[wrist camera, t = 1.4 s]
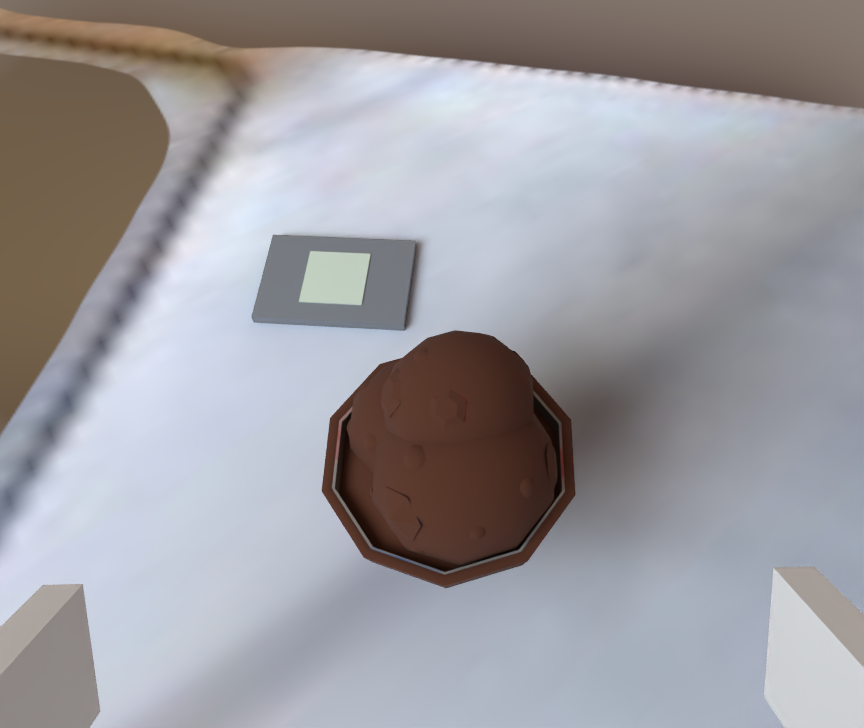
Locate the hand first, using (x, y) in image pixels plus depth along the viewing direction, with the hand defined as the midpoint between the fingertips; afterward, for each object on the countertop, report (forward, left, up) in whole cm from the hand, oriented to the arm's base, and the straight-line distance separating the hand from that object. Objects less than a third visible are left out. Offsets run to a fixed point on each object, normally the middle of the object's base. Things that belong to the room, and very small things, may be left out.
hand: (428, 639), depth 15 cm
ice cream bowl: (+1, -10, -25) cm, 27 cm away
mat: (+10, -26, -25) cm, 37 cm away
